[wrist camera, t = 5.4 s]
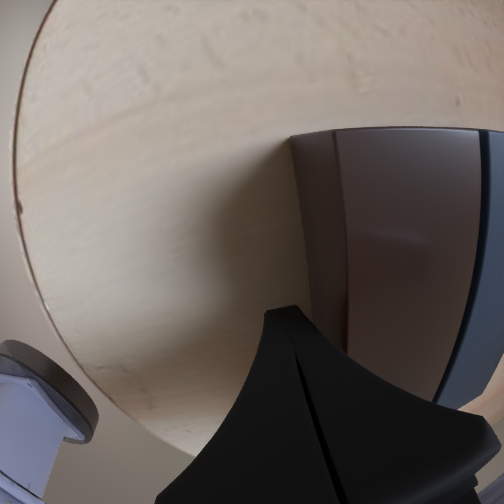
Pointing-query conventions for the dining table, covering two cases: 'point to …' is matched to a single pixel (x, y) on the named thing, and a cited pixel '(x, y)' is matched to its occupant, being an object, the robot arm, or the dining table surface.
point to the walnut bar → (391, 243)
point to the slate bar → (481, 290)
